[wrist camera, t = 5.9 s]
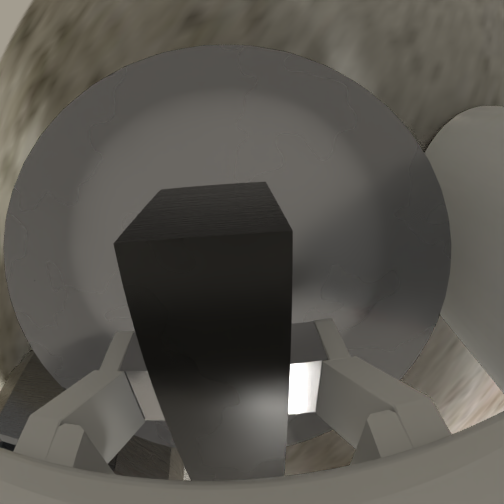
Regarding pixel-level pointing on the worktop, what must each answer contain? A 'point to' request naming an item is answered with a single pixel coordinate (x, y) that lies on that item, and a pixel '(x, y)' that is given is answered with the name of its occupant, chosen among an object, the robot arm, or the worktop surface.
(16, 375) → the pot
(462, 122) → the utensil holder
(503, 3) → the worktop surface
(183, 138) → the lid
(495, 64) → the worktop surface
